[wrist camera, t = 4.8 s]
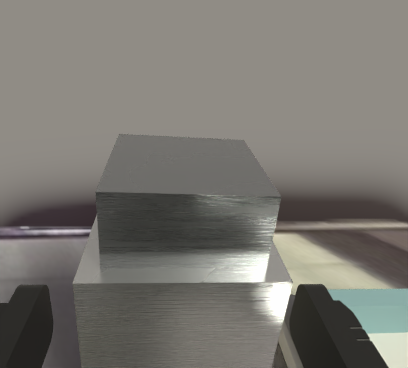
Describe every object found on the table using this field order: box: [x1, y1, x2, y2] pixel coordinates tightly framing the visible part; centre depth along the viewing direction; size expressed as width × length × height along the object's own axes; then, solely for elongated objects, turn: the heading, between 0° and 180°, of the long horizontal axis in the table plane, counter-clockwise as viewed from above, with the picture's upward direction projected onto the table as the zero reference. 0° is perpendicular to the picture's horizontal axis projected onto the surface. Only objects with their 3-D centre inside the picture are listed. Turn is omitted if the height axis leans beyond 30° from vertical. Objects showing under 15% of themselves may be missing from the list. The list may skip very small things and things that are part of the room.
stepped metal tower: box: [73, 134, 293, 368], centre depth 12 cm, size 5×5×12 cm
